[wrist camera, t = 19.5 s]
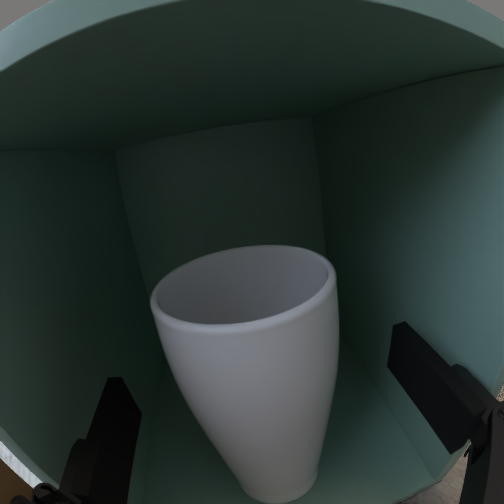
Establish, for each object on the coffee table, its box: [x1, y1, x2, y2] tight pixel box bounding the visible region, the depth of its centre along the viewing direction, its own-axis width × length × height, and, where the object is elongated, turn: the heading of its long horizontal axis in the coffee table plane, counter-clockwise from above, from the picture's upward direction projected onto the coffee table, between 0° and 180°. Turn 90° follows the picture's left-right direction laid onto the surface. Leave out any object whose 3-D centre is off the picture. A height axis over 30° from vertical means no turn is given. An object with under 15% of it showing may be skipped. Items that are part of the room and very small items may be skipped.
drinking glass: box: [150, 245, 340, 504], centre depth 13 cm, size 7×7×15 cm
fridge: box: [0, 0, 504, 504], centre depth 18 cm, size 24×21×24 cm
